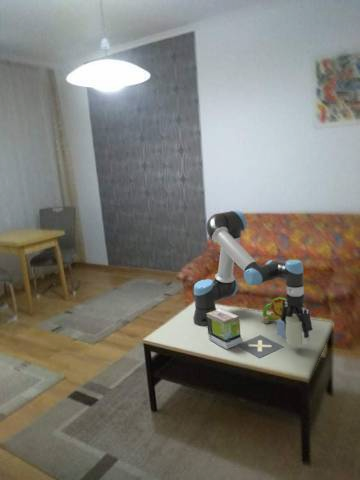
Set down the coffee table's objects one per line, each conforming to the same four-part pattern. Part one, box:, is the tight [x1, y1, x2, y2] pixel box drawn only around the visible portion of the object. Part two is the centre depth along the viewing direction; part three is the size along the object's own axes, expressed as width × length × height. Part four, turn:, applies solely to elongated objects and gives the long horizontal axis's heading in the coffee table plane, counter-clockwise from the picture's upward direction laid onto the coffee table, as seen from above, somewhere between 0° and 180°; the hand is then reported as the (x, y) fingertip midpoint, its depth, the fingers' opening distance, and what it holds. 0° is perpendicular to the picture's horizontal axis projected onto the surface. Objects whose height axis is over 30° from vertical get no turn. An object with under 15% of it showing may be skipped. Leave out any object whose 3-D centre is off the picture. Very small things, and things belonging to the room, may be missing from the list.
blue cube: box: [276, 319, 287, 339], centre depth 184 cm, size 8×8×8 cm
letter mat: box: [236, 334, 285, 359], centre depth 176 cm, size 16×16×1 cm
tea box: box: [206, 308, 242, 350], centre depth 183 cm, size 15×10×15 cm, turn 32°
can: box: [285, 313, 306, 347], centre depth 167 cm, size 9×9×12 cm
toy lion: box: [262, 296, 289, 325], centre depth 197 cm, size 16×6×15 cm, turn 63°
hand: (296, 339), depth 168 cm, fingers closed on can, 9 cm apart
